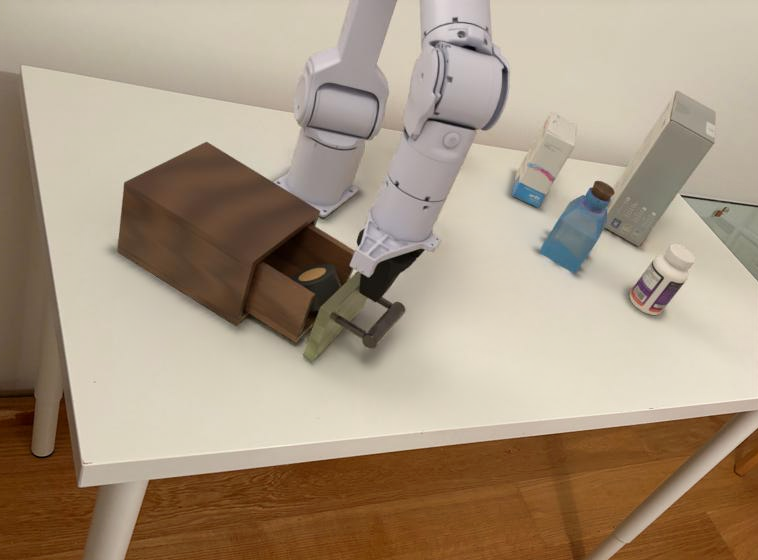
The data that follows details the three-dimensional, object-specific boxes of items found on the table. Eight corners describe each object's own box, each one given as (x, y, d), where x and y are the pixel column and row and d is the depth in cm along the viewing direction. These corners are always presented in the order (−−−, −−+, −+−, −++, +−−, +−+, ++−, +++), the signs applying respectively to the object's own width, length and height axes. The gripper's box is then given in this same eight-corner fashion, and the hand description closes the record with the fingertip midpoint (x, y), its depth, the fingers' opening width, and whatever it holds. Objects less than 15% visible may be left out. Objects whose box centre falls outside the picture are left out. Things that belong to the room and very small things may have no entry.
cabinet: (300, 271, 82) (320, 210, 77) (235, 326, 73) (253, 262, 67) (194, 205, 83) (206, 141, 78) (116, 251, 74) (123, 182, 68)
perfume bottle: (585, 256, 109) (628, 191, 101) (575, 274, 104) (619, 207, 97) (550, 234, 110) (590, 168, 102) (538, 251, 105) (579, 183, 97)
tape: (312, 290, 78) (303, 265, 76) (351, 288, 76) (342, 261, 74) (291, 312, 74) (281, 286, 73) (331, 310, 72) (321, 283, 71)
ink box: (539, 209, 114) (576, 145, 106) (510, 196, 113) (546, 130, 105) (543, 185, 120) (578, 122, 112) (516, 172, 120) (549, 108, 112)
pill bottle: (661, 302, 108) (700, 253, 102) (659, 321, 104) (700, 271, 98) (629, 285, 108) (667, 234, 102) (626, 304, 104) (664, 252, 98)
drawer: (400, 329, 80) (422, 284, 76) (352, 387, 72) (374, 340, 67) (263, 244, 82) (276, 196, 77) (200, 291, 73) (211, 239, 69)
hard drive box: (639, 249, 117) (715, 143, 104) (597, 226, 117) (668, 118, 104) (648, 209, 129) (717, 110, 116) (610, 189, 129) (675, 87, 116)
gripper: (424, 239, 57) (372, 353, 66) (484, 176, 68) (432, 282, 77) (350, 193, 58) (307, 313, 67) (421, 139, 69) (376, 248, 78)
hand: (370, 294), depth 72 cm, fingers closed
